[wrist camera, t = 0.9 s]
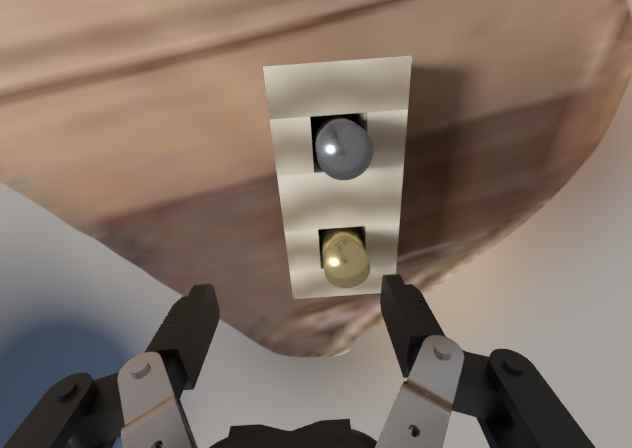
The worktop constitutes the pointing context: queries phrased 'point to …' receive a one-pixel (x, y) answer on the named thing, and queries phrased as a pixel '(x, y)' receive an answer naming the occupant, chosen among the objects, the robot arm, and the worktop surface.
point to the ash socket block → (328, 193)
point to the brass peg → (344, 257)
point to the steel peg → (343, 148)
